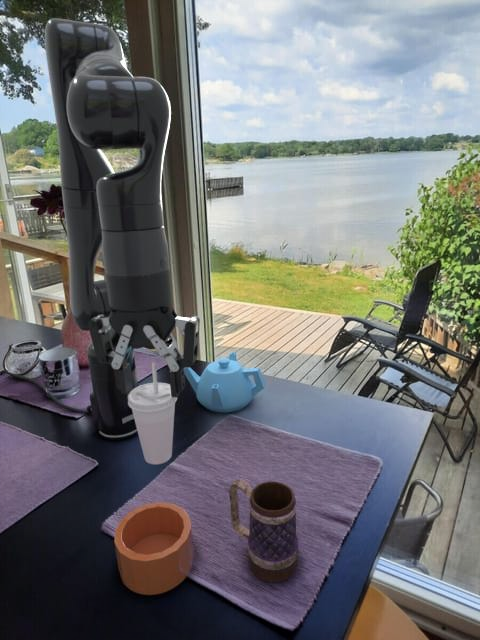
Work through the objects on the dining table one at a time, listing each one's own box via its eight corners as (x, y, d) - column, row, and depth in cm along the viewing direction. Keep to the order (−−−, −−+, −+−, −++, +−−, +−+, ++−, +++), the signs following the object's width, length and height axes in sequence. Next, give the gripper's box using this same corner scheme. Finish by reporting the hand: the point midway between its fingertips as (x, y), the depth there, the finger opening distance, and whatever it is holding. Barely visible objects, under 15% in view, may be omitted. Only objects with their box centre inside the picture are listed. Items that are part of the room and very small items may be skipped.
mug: (306, 556, 63) (308, 487, 59) (283, 594, 58) (282, 521, 54) (247, 527, 69) (245, 462, 65) (220, 559, 63) (216, 490, 59)
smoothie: (172, 473, 57) (164, 375, 52) (126, 468, 58) (114, 371, 54) (187, 444, 63) (181, 354, 58) (145, 440, 64) (136, 351, 59)
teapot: (213, 424, 97) (210, 380, 93) (182, 397, 109) (179, 357, 105) (269, 404, 104) (268, 362, 101) (235, 380, 117) (233, 343, 113)
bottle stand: (106, 589, 59) (100, 555, 57) (137, 530, 69) (132, 498, 67) (181, 600, 57) (177, 565, 56) (201, 537, 67) (199, 505, 65)
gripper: (204, 260, 54) (211, 382, 60) (95, 260, 57) (112, 378, 62) (187, 273, 47) (197, 411, 53) (64, 273, 50) (86, 405, 55)
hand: (151, 392), depth 57 cm, fingers closed on smoothie, 6 cm apart
